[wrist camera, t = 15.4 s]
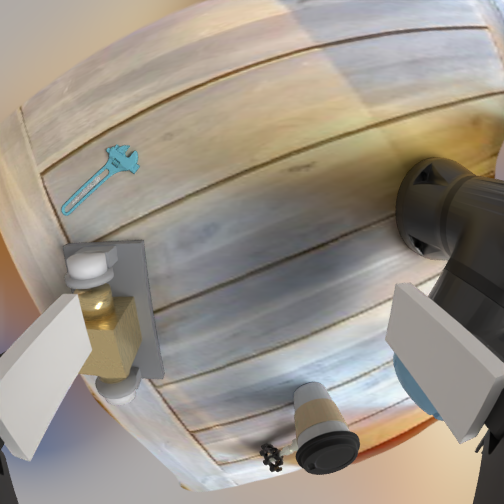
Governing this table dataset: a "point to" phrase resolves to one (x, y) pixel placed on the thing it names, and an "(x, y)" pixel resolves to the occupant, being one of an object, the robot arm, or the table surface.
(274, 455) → the valve
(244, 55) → the table surface
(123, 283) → the pipe run plate
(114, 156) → the adjustable wrench
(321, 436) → the coffee cup
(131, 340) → the brass gate valve
